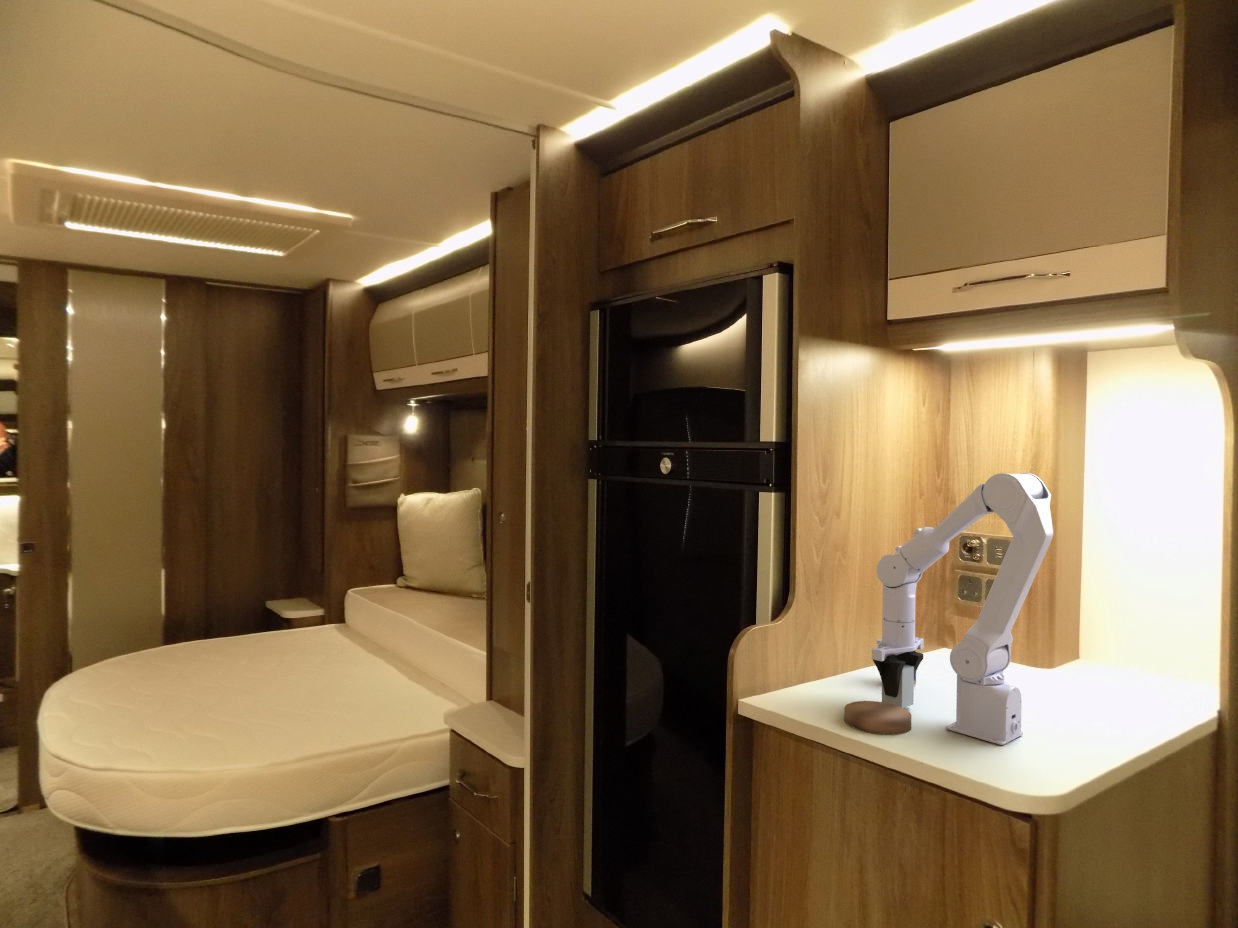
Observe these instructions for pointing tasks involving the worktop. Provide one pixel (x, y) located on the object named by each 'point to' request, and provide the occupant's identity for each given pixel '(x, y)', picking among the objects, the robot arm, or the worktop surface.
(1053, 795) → the worktop surface
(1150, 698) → the worktop surface
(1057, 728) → the worktop surface
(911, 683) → the block
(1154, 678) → the worktop surface
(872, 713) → the plinth
